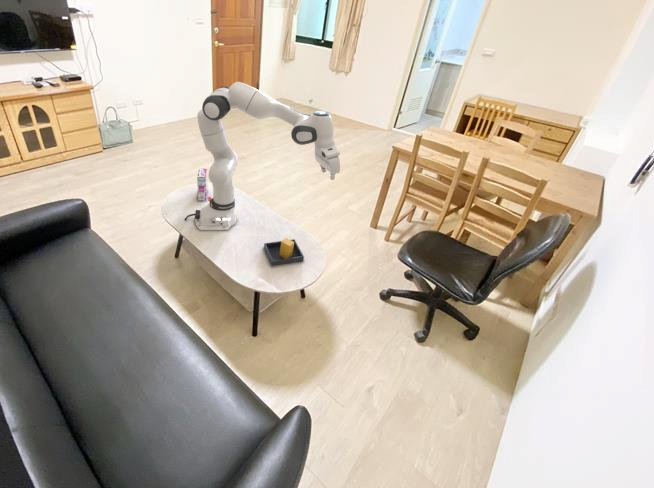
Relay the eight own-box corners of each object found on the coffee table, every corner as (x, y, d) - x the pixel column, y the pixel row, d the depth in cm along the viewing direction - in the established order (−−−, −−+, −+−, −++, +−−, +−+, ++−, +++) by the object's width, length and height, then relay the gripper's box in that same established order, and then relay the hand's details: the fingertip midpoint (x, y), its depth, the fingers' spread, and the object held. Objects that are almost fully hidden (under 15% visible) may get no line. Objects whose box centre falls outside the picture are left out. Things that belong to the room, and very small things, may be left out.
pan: (271, 266, 159) (272, 261, 157) (263, 248, 170) (264, 243, 168) (303, 261, 164) (304, 256, 162) (293, 244, 174) (294, 239, 173)
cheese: (279, 255, 166) (281, 241, 161) (284, 251, 169) (286, 237, 164) (287, 259, 164) (289, 246, 159) (292, 255, 166) (294, 242, 161)
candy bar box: (206, 201, 200) (205, 177, 190) (197, 201, 199) (196, 177, 190) (207, 191, 209) (207, 168, 200) (199, 191, 208) (198, 168, 199)
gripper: (309, 143, 156) (313, 169, 163) (327, 156, 139) (330, 185, 146) (322, 139, 157) (325, 165, 164) (341, 152, 140) (344, 181, 147)
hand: (328, 175), depth 155 cm, fingers open, 8 cm apart
